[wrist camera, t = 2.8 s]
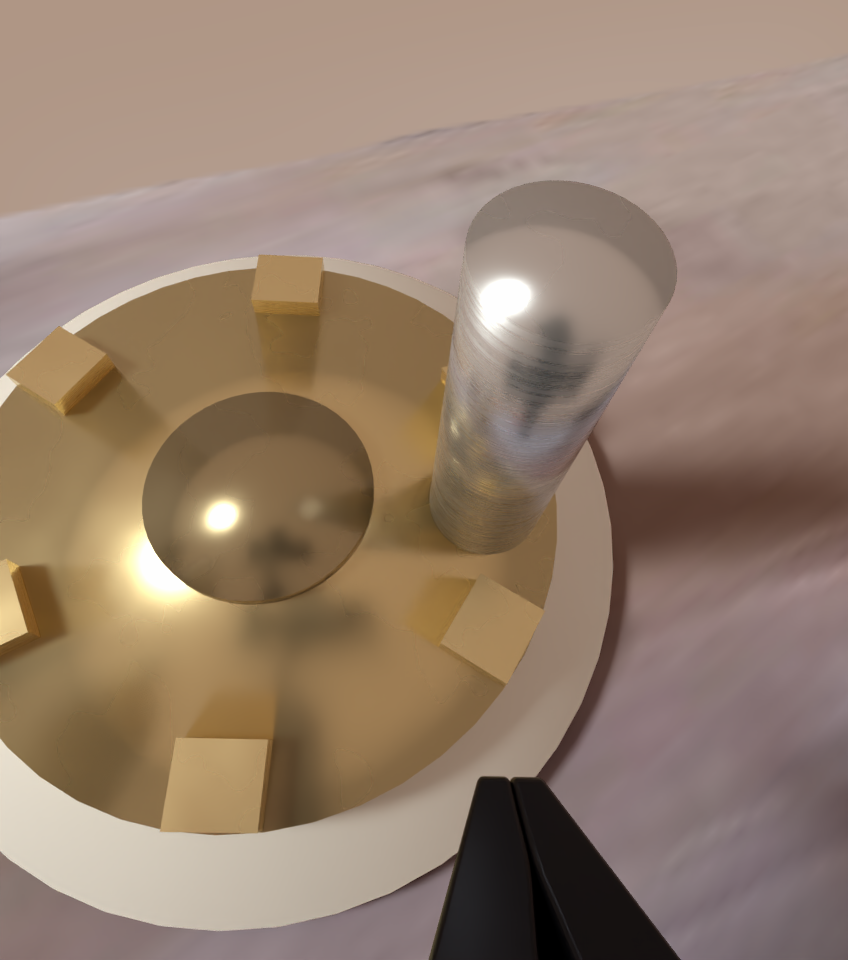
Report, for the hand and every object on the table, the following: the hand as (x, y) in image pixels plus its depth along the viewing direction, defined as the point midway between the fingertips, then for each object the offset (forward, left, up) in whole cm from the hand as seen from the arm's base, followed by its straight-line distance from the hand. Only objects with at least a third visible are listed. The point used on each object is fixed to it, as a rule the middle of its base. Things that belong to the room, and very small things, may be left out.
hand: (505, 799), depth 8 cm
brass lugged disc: (+9, +1, -9) cm, 12 cm away
